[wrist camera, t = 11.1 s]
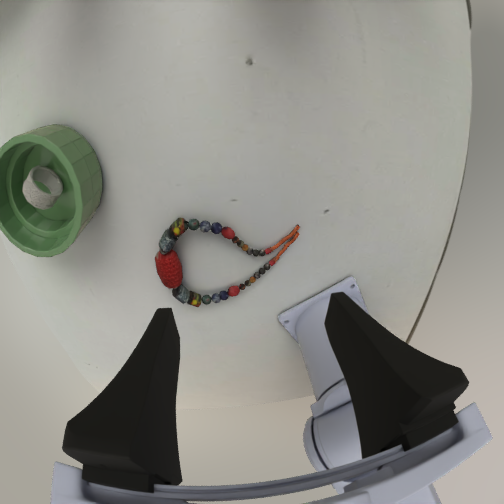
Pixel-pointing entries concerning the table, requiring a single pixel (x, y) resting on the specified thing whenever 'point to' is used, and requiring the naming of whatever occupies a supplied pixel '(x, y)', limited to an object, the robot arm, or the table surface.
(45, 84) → the table surface
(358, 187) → the table surface
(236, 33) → the table surface
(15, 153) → the bowl
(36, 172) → the ring
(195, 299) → the necklace
